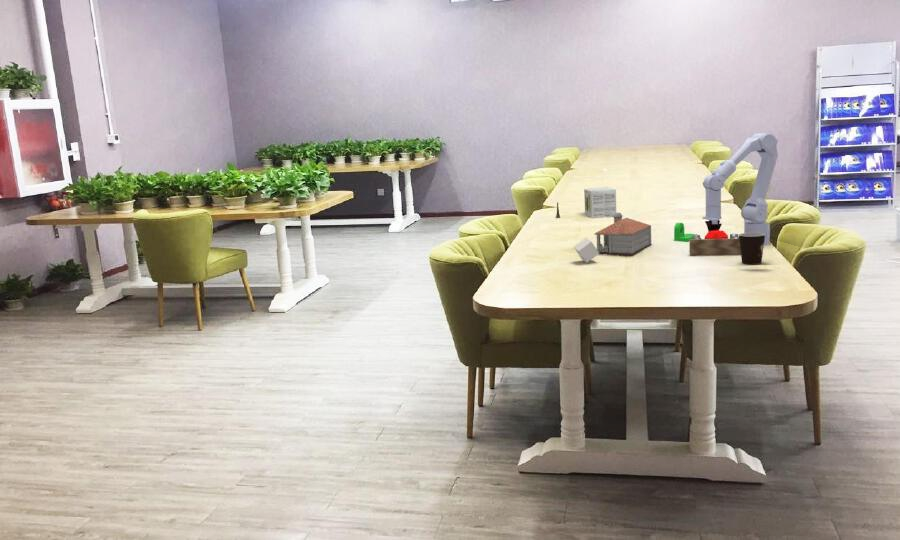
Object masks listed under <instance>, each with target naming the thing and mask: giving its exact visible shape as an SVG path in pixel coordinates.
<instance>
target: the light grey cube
mask: <svg viewBox="0 0 900 540" xmlns="http://www.w3.org/2000/svg"><path fill="white" fill-rule="evenodd" d="M573 249H574V250H575V252H576V253H577V254H578V256H579V258H580V259H581V260H582V261H584V263H586V264H588V263H589V262H590V261H591V260H593V259H594V258H595V257H597V256H598V255H600V254H599V252H598V251H597V247H596V246H595V245H594V243H593V242H592V241H591V240H590V239H589V238H587V237H585V238H583V239H582V240H580V241H579V242H577V243H576V244H575V245H574V246H573Z"/></svg>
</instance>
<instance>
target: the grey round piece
mask: <svg viewBox="0 0 900 540" xmlns="http://www.w3.org/2000/svg"><path fill="white" fill-rule="evenodd" d="M729 238H739V233H730V234H729ZM692 239H702V237H701V235H700V234H697V235H692Z"/></svg>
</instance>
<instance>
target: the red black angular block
mask: <svg viewBox="0 0 900 540" xmlns="http://www.w3.org/2000/svg"><path fill="white" fill-rule="evenodd" d="M704 239H729V235H728V234H727V232H725V231H724V230H720V229H719V230H713V231H709V232H707V233H706V234H705V236H704Z"/></svg>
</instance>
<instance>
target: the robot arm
mask: <svg viewBox="0 0 900 540" xmlns="http://www.w3.org/2000/svg"><path fill="white" fill-rule="evenodd" d="M777 144H778V139H777V138H776V136H775V135H774V133H772V132H753V133H751V135H750V136H749V137H747V138H746V140H745V141H744V143H742V145H741V147H739V148H738V149H737V151H736V152H735V153H734V154H733V156H731V158H730V159H729V160H727V159H726V160H724V161H721V162H719V165H718V167H717V168H716V169H715V170H713V171H712V172H711V174H709V175H707V176H705V178H704V179H703V182H702V186H703V188H704V189H705V191H704V192H705V216H702V220H705V221H704V223H705V224H706V228H707V231H708V232H709V231H713V230H720V229H721V227H722V225H723V224H722V223H721V219H722V189H723V187H724V186H725V182H726V181H727V179H729V178H730V177H731V176H732V175H733V174H734V173H735V172H736V170H737V165H739V164H740V163H741V162H742V161H743V160H744V159H745V158H747V156H748V155H750V154H751V153H753V152H756V153H758V154H759V156H760V164H759V167H758V171H757V174H756V178H755V181H754V184H753V188H752V192H751V195H750V197H749V198H748V199H747V200H746V201H745V204H744V205H743V207H742V208H741V212H740V215H741V218H743V225H744V226H743V229H744V231H743V233H763V234H765V240H764V246H765V245H766V246H769V245H770V243H771V242H770V241H771V240H770V239H771V238H770V237H771V226H770V222H769V221H766V219H767V217H768V207H769V204H768V203H767V200H766V198H767V194H768V191H769V188H770V184H771V181H772V178H773V174H774V171H775V168H776V167H775V166H776V163H777V159H778V148H777ZM708 232H707V233H708Z"/></svg>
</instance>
